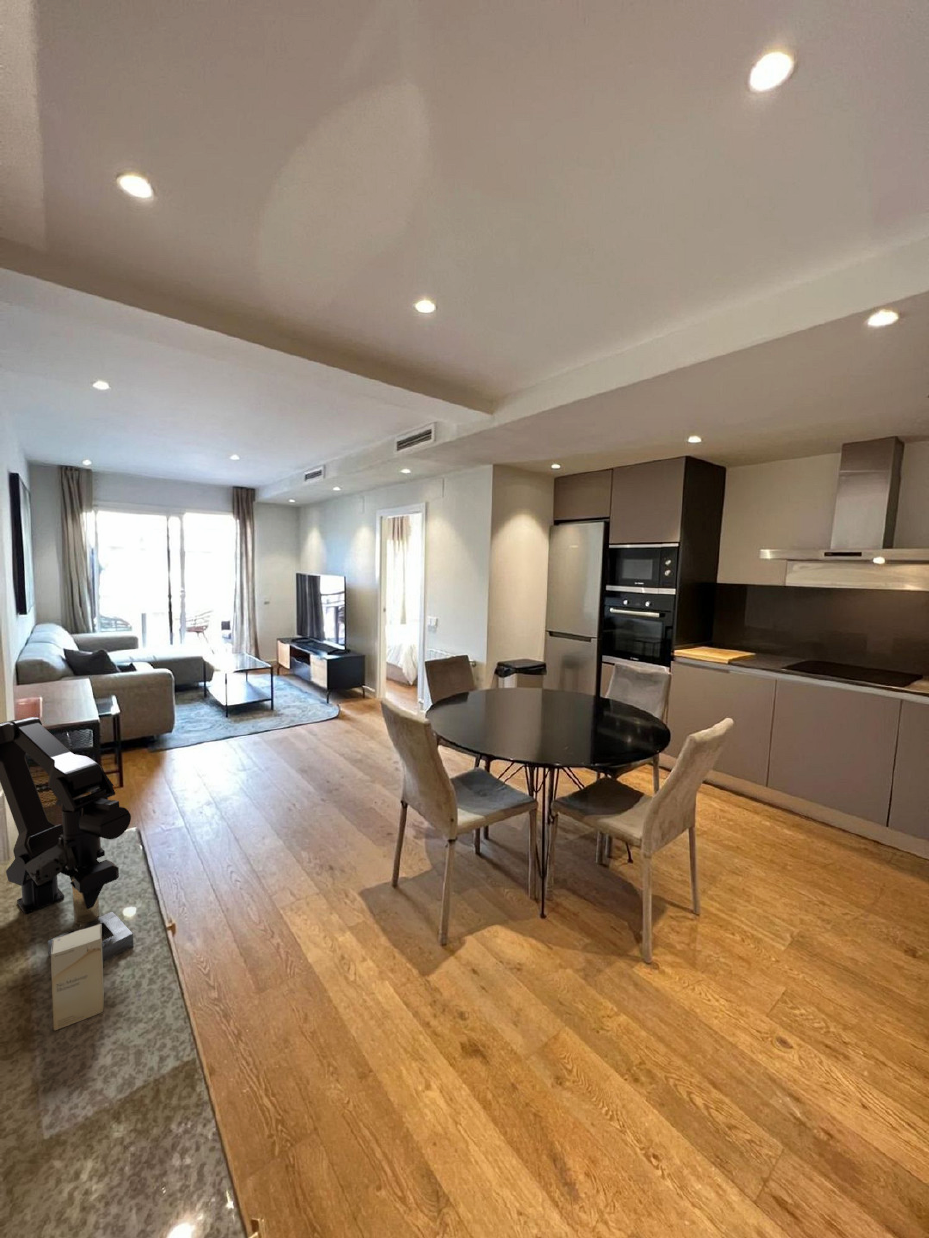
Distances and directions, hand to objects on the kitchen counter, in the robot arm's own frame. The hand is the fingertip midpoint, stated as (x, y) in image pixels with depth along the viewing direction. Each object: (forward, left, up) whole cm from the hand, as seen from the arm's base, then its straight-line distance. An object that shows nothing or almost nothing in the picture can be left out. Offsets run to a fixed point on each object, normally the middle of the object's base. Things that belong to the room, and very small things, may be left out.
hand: (86, 903), depth 99 cm
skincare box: (+25, -8, -3) cm, 26 cm away
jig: (+11, -2, -3) cm, 12 cm away
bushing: (0, 0, -3) cm, 3 cm away
